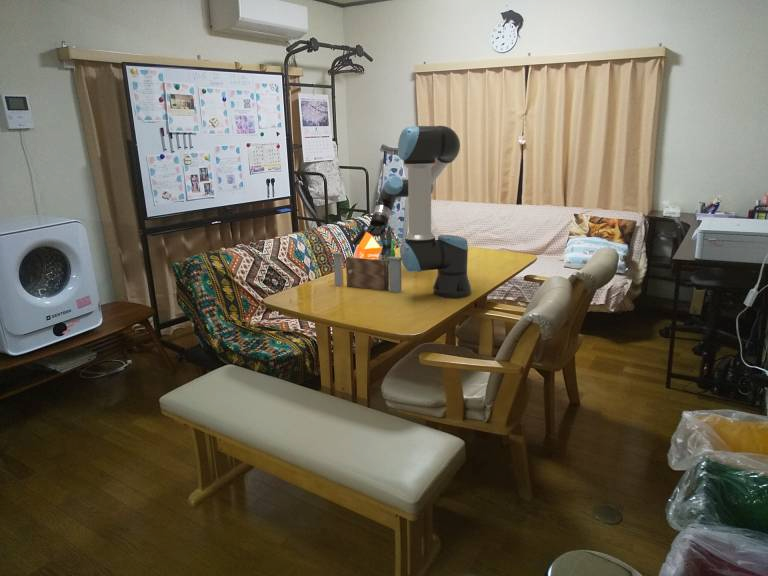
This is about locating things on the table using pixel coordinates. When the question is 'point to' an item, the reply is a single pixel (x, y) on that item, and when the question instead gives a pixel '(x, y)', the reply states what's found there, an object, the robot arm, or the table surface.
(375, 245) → the orange juice
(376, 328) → the table surface
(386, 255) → the snack cup
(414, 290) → the table surface
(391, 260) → the grey rectangular posts
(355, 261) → the gate
